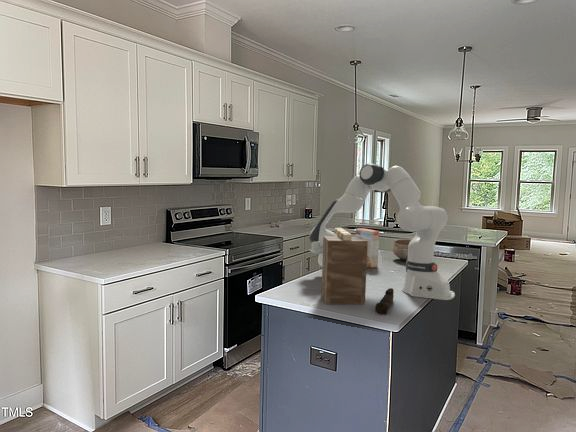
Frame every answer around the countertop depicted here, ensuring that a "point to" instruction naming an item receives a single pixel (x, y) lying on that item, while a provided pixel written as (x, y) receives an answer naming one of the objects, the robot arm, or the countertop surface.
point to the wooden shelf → (344, 270)
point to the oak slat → (343, 234)
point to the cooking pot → (401, 248)
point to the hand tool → (385, 302)
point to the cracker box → (370, 245)
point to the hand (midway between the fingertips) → (335, 241)
